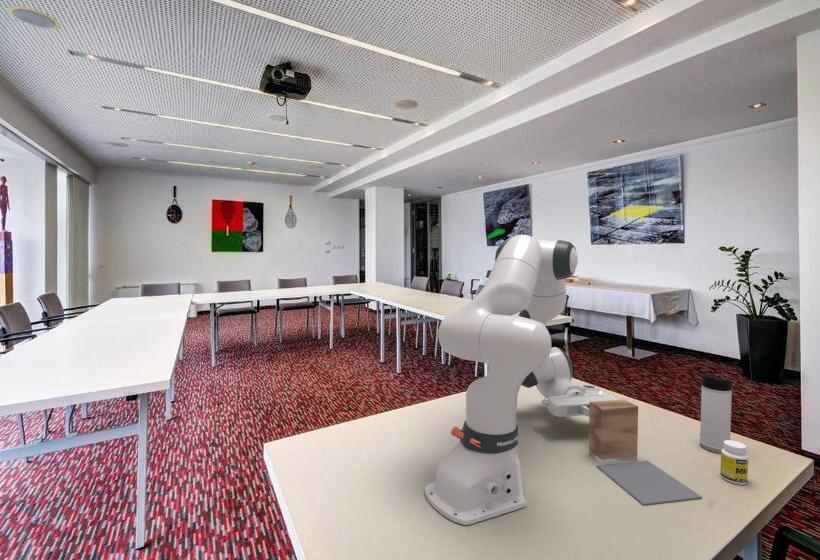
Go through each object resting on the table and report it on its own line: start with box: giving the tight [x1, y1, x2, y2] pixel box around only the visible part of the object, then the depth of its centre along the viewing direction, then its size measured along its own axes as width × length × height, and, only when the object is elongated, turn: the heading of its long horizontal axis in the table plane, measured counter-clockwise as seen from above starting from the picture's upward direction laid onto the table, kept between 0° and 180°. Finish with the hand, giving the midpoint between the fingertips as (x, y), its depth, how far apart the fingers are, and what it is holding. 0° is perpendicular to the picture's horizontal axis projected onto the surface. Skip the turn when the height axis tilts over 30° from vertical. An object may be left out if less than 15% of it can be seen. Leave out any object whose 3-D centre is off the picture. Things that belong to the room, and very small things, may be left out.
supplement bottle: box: [719, 439, 749, 486], centre depth 87 cm, size 5×5×8 cm
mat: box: [596, 459, 703, 507], centre depth 86 cm, size 15×14×1 cm
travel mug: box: [699, 373, 733, 455], centre depth 101 cm, size 6×7×20 cm
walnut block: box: [588, 398, 639, 465], centre depth 97 cm, size 5×10×14 cm, turn 99°
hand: (600, 415), depth 101 cm, fingers closed
